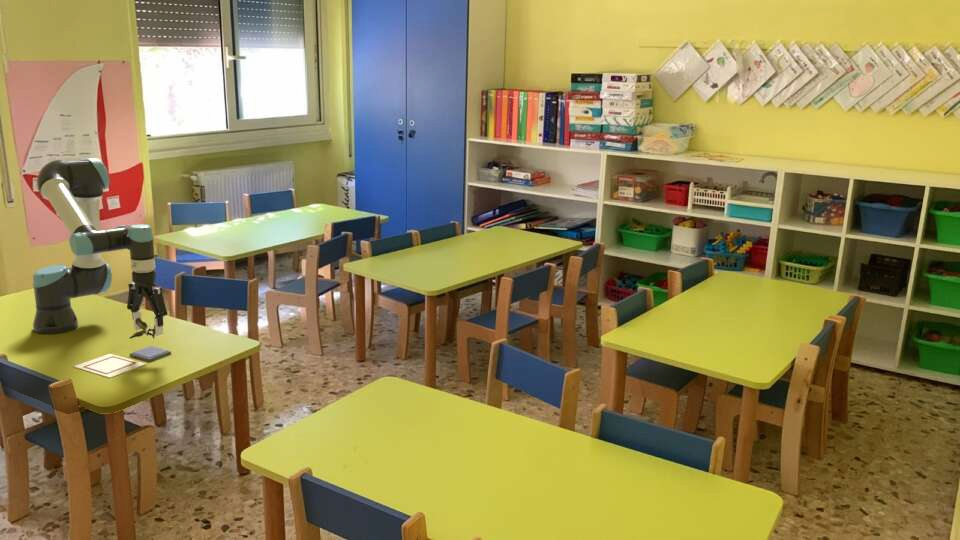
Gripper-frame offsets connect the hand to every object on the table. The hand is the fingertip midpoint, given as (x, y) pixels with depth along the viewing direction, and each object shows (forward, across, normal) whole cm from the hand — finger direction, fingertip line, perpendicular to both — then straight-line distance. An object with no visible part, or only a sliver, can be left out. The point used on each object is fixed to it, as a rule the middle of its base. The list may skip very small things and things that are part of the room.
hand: (148, 332), depth 274 cm
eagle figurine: (+1, 0, -2) cm, 3 cm away
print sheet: (+8, -3, -14) cm, 17 cm away
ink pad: (+8, 0, 0) cm, 8 cm away
